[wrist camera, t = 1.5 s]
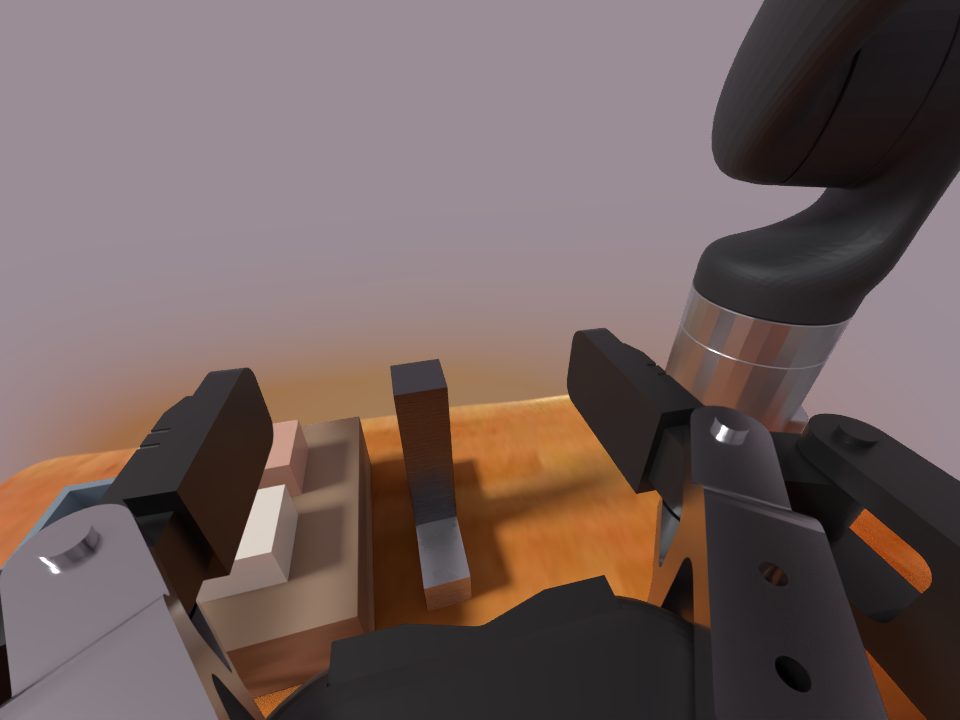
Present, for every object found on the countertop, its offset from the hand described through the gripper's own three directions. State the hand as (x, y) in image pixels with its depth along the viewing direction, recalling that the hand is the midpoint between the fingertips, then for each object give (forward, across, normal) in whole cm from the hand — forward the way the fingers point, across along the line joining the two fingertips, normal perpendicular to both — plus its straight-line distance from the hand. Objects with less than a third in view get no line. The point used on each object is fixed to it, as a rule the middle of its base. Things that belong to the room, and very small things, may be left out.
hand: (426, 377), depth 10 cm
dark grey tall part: (+11, 0, +22) cm, 25 cm away
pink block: (+14, +11, +16) cm, 24 cm away
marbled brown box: (+11, +11, +22) cm, 27 cm away
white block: (+8, +11, +16) cm, 21 cm away
